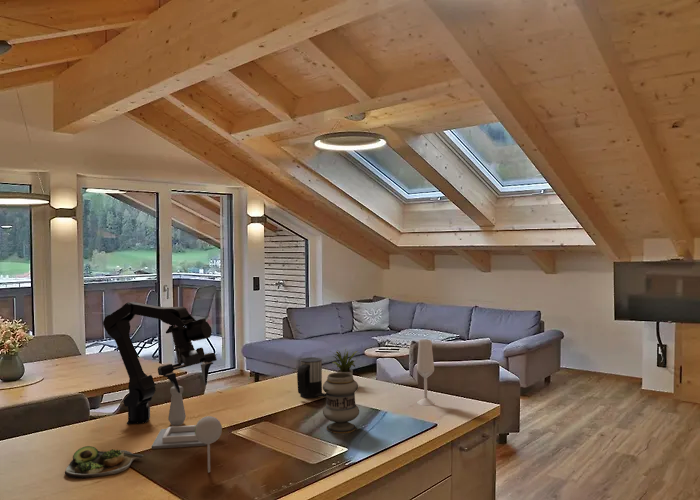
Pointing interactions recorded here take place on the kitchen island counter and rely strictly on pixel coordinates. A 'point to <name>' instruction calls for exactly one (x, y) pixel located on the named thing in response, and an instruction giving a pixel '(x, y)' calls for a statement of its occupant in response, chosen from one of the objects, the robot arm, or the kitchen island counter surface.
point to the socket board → (177, 437)
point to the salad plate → (98, 462)
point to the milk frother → (310, 378)
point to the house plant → (344, 362)
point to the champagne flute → (425, 366)
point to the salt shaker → (176, 407)
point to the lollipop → (208, 432)
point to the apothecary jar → (340, 402)
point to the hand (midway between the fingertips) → (192, 388)
